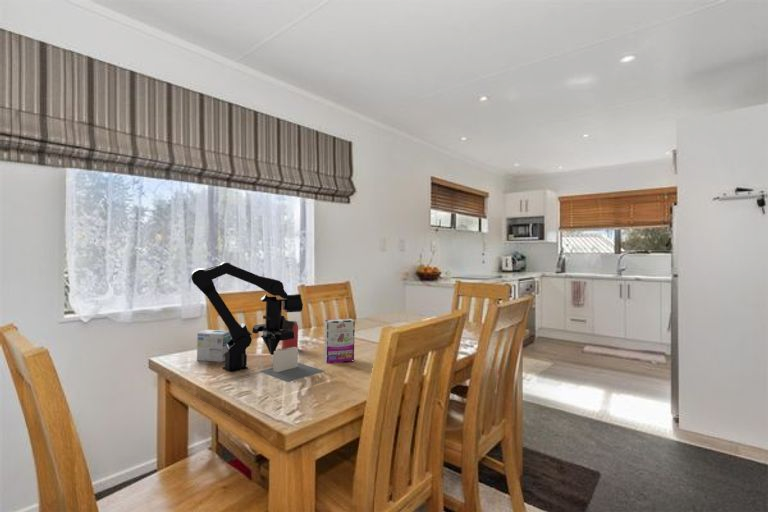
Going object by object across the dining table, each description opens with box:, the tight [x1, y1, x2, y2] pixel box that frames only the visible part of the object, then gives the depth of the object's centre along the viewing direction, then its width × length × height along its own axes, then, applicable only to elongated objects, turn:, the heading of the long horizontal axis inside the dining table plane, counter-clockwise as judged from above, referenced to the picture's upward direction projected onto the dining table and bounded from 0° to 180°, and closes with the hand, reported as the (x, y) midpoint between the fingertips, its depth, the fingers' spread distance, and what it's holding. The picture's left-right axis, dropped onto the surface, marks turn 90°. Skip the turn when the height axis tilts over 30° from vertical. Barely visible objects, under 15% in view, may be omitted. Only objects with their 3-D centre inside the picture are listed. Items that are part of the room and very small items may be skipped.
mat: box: [259, 362, 325, 383], centre depth 135 cm, size 16×16×1 cm
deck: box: [272, 347, 299, 372], centre depth 137 cm, size 9×2×7 cm, turn 141°
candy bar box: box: [323, 318, 356, 364], centre depth 150 cm, size 11×5×16 cm, turn 112°
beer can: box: [281, 320, 299, 350], centre depth 164 cm, size 7×7×12 cm
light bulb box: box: [196, 329, 232, 363], centre depth 147 cm, size 11×7×11 cm, turn 84°
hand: (272, 354), depth 142 cm, fingers closed
